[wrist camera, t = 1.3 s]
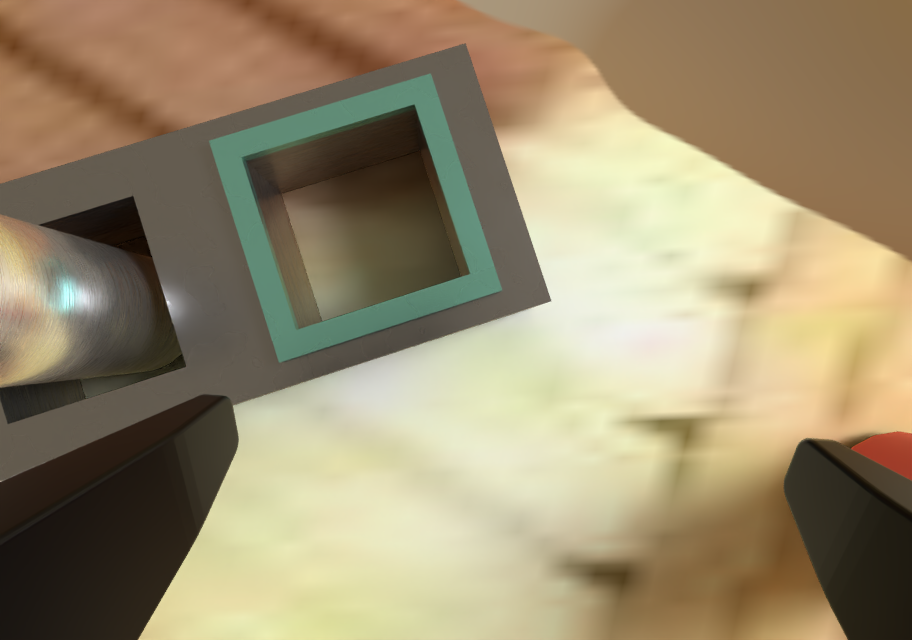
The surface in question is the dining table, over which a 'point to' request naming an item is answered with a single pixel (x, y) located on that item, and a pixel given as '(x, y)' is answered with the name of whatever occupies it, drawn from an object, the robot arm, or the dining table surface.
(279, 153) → the jig plate
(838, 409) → the dining table surface
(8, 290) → the steel sleeve
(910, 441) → the beer can
